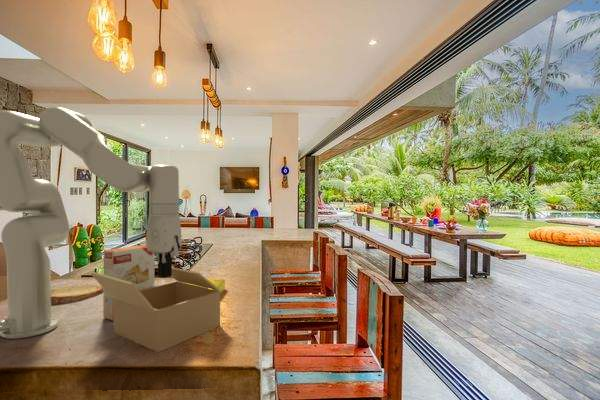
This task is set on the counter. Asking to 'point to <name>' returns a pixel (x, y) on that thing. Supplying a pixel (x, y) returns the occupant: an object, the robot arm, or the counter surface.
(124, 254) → the cracker box
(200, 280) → the flap far
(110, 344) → the counter surface
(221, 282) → the element tile
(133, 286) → the flap arm side
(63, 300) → the slice of bread
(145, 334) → the carton
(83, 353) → the counter surface
